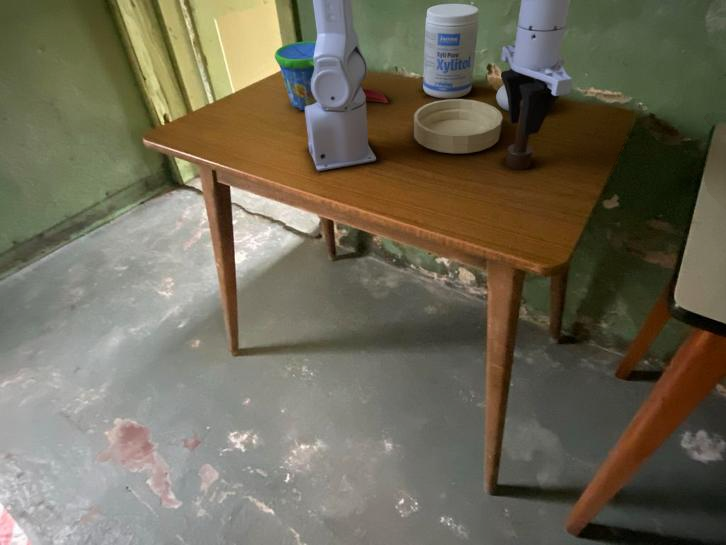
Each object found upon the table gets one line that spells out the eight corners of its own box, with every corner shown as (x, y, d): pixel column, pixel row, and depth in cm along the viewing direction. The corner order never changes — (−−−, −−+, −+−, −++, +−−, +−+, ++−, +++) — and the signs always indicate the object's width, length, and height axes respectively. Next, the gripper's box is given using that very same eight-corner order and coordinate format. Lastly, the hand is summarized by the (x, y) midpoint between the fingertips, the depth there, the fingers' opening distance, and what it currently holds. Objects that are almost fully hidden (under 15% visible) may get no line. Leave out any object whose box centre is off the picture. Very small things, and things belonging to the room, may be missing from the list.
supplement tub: (437, 104, 93) (441, 19, 83) (414, 87, 100) (415, 7, 90) (481, 94, 95) (490, 10, 86) (456, 78, 102) (461, 0, 92)
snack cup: (352, 111, 92) (347, 55, 86) (300, 124, 89) (291, 67, 83) (319, 86, 103) (314, 34, 97) (272, 97, 100) (263, 44, 93)
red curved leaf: (330, 95, 99) (330, 86, 98) (346, 88, 101) (345, 79, 100) (377, 109, 93) (377, 99, 91) (392, 100, 95) (392, 90, 94)
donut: (495, 117, 87) (554, 118, 85) (497, 98, 85) (557, 98, 83) (495, 95, 95) (549, 95, 93) (496, 77, 92) (552, 77, 90)
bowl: (431, 162, 76) (431, 141, 74) (402, 125, 87) (402, 106, 84) (515, 147, 78) (518, 126, 76) (477, 113, 89) (479, 94, 86)
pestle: (512, 171, 73) (523, 103, 66) (501, 160, 75) (511, 93, 69) (534, 167, 73) (547, 99, 66) (522, 156, 76) (534, 89, 69)
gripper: (605, 36, 57) (577, 144, 66) (540, 7, 67) (524, 104, 76) (549, 44, 56) (529, 153, 65) (493, 14, 66) (482, 111, 75)
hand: (523, 127), depth 70 cm, fingers open, 3 cm apart
